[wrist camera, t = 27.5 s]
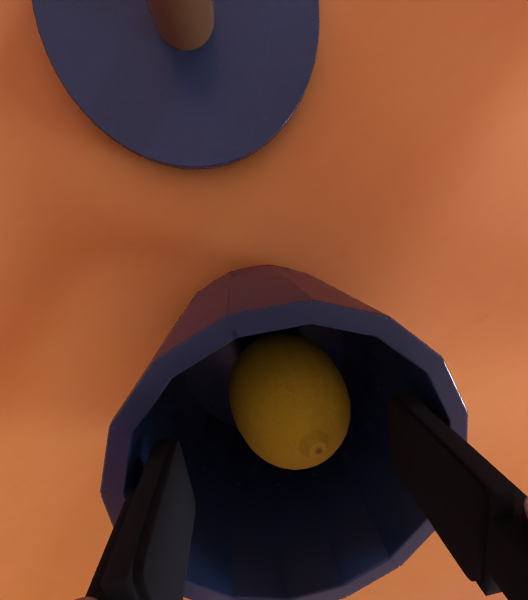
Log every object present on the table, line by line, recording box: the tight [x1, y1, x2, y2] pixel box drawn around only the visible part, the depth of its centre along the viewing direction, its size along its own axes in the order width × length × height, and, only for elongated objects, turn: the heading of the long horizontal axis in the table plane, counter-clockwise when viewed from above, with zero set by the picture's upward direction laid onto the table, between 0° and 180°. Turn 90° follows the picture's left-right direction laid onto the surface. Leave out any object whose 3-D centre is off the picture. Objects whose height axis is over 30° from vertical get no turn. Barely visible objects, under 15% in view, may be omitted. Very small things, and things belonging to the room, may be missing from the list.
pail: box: [100, 265, 468, 600], centre depth 13 cm, size 12×12×10 cm
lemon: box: [229, 333, 350, 470], centre depth 13 cm, size 6×6×8 cm
